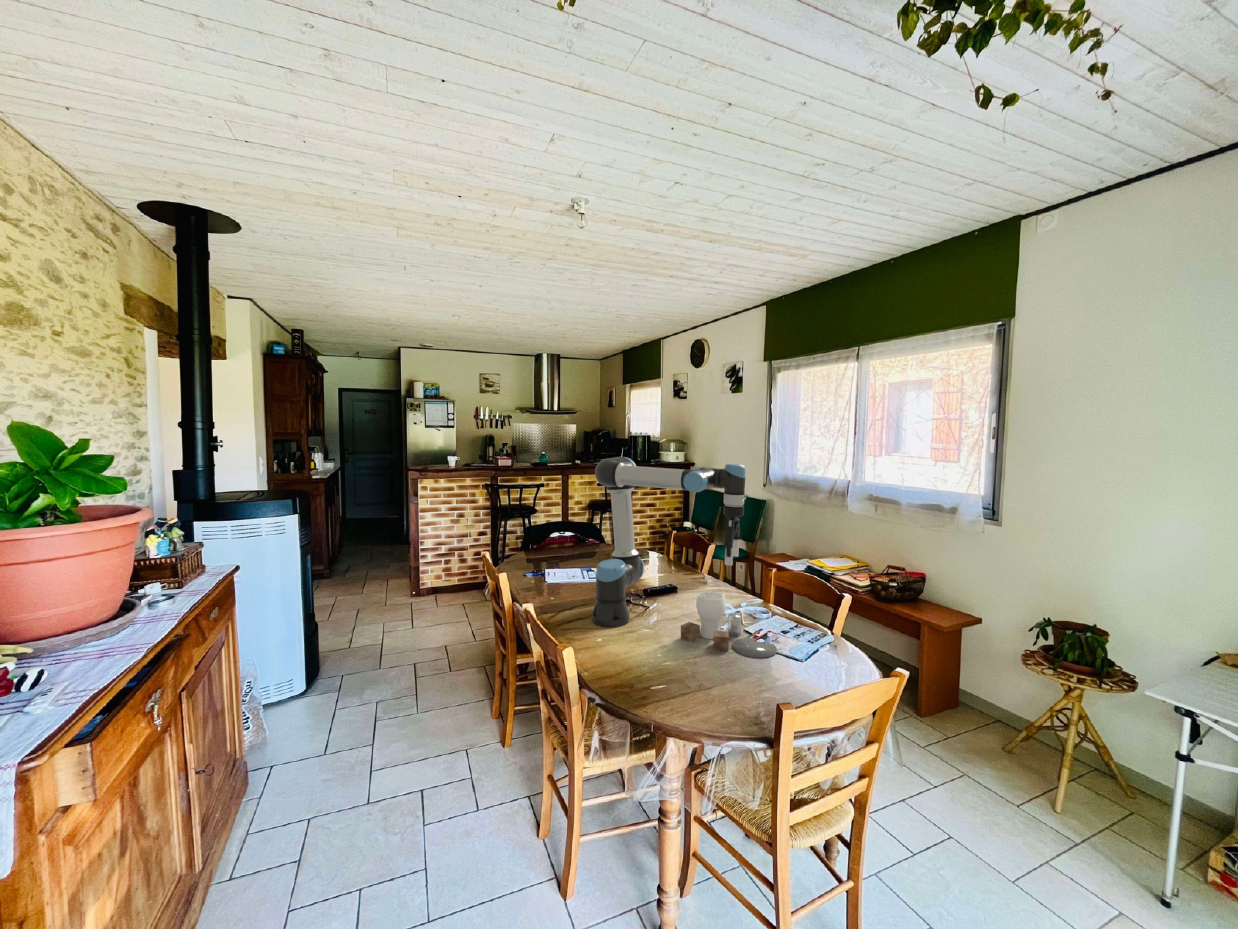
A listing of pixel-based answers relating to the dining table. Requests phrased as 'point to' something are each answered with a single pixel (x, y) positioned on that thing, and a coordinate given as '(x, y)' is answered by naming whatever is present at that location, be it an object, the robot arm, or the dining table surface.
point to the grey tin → (734, 624)
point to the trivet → (754, 648)
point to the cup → (710, 612)
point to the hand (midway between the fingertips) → (731, 560)
